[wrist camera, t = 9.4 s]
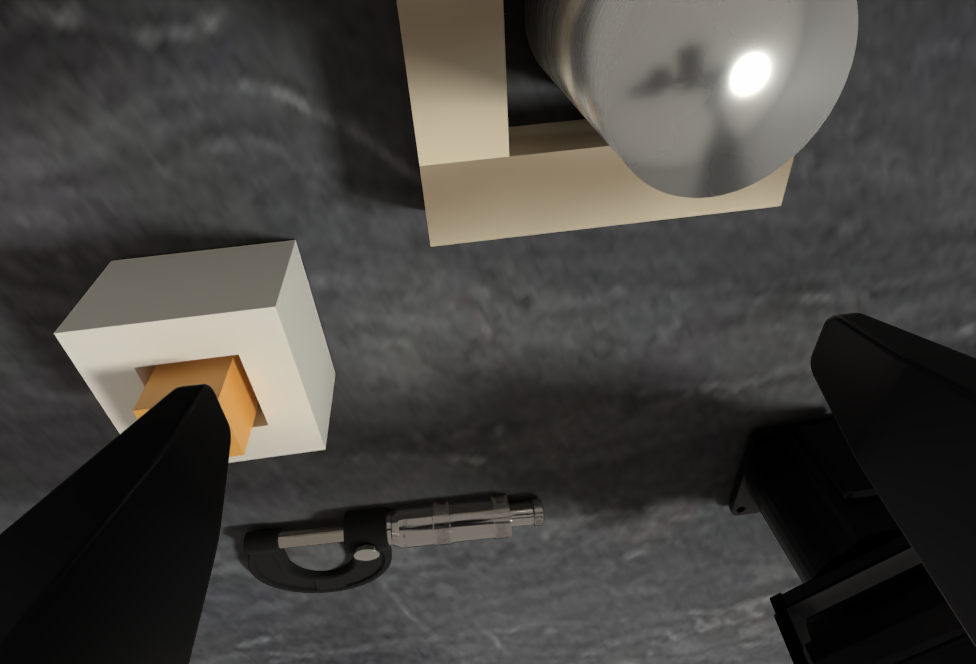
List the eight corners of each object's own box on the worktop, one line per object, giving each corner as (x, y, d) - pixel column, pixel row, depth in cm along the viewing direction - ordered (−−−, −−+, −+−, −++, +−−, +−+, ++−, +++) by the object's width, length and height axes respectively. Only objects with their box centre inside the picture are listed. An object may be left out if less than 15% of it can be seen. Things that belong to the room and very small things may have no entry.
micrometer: (269, 590, 32) (260, 636, 30) (235, 512, 28) (222, 559, 26) (532, 559, 34) (540, 601, 32) (538, 481, 29) (549, 523, 27)
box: (335, 373, 23) (325, 449, 20) (181, 393, 22) (146, 474, 19) (295, 240, 19) (275, 306, 16) (111, 260, 19) (53, 333, 16)
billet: (666, 84, 18) (816, 184, 11) (525, 98, 17) (599, 210, 11) (687, -93, 15) (897, -90, 9) (522, -79, 15) (614, -66, 8)
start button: (262, 387, 20) (244, 454, 17) (194, 396, 20) (166, 465, 17) (241, 335, 18) (217, 399, 16) (167, 344, 18) (132, 410, 16)
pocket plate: (742, 175, 20) (780, 206, 18) (427, 211, 19) (430, 246, 17) (840, -280, 13) (919, -313, 11) (363, -251, 13) (358, -280, 11)
